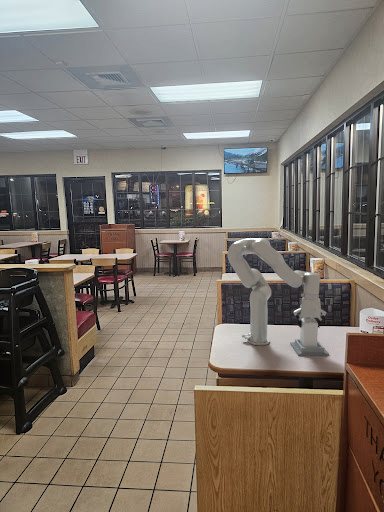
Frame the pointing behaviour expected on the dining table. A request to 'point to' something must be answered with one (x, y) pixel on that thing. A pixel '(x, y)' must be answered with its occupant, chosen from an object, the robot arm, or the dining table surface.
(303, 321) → the milk carton
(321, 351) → the carton tray
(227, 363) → the dining table surface
